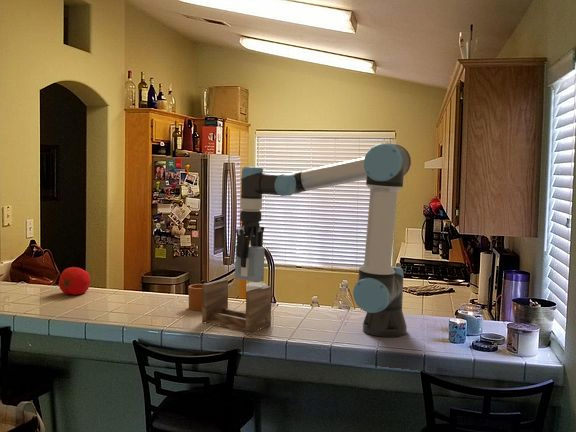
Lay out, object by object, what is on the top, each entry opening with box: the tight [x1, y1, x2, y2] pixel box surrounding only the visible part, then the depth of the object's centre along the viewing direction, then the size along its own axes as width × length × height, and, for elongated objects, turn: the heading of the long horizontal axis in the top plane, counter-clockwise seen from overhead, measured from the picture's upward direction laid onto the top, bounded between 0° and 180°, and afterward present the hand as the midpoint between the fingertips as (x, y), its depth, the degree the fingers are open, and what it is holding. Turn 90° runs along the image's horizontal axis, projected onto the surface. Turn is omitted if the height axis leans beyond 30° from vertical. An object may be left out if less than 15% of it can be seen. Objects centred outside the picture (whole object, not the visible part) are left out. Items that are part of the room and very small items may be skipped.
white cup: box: [245, 281, 267, 292], centre depth 232 cm, size 8×8×10 cm
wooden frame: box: [201, 278, 272, 333], centre depth 211 cm, size 22×12×14 cm, turn 56°
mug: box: [187, 283, 203, 312], centre depth 232 cm, size 9×12×9 cm
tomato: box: [58, 266, 92, 296], centre depth 254 cm, size 13×13×13 cm
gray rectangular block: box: [234, 244, 266, 283], centre depth 210 cm, size 10×4×12 cm, turn 55°
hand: (249, 274), depth 211 cm, fingers closed on gray rectangular block, 4 cm apart
